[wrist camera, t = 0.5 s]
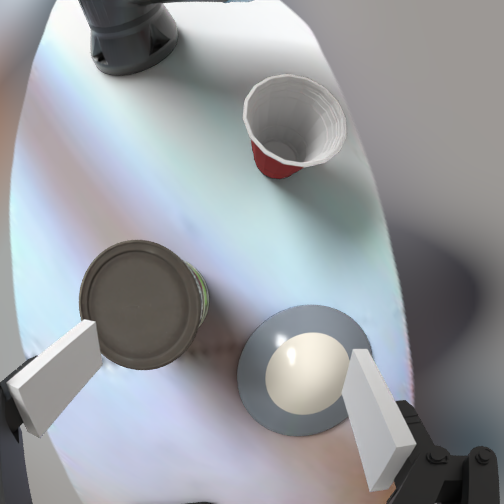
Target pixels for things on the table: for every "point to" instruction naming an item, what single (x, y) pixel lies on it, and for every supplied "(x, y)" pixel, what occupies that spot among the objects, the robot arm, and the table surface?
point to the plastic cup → (292, 124)
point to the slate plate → (299, 369)
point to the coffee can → (143, 303)
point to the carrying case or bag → (200, 503)
